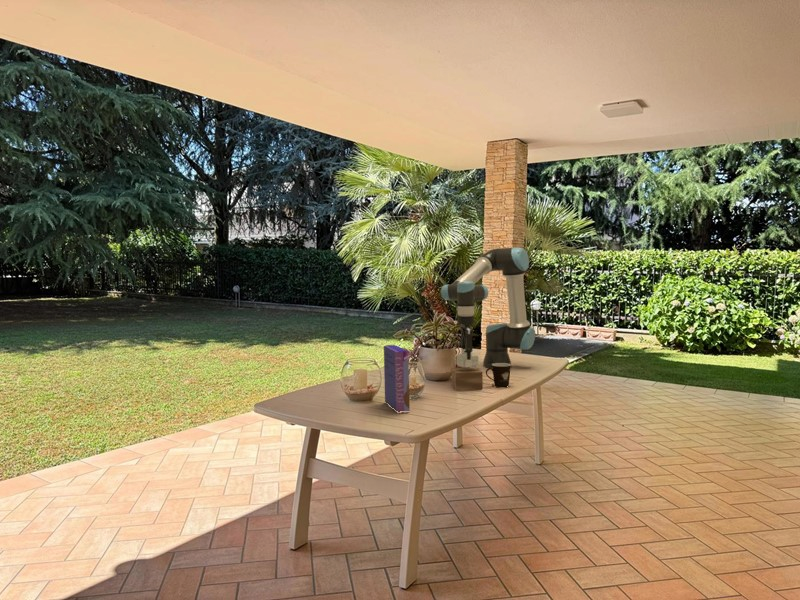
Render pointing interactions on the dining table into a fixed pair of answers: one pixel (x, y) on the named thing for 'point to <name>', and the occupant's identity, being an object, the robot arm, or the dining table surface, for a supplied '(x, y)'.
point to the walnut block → (467, 379)
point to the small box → (461, 360)
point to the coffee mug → (500, 374)
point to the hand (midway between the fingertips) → (466, 364)
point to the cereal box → (396, 377)
